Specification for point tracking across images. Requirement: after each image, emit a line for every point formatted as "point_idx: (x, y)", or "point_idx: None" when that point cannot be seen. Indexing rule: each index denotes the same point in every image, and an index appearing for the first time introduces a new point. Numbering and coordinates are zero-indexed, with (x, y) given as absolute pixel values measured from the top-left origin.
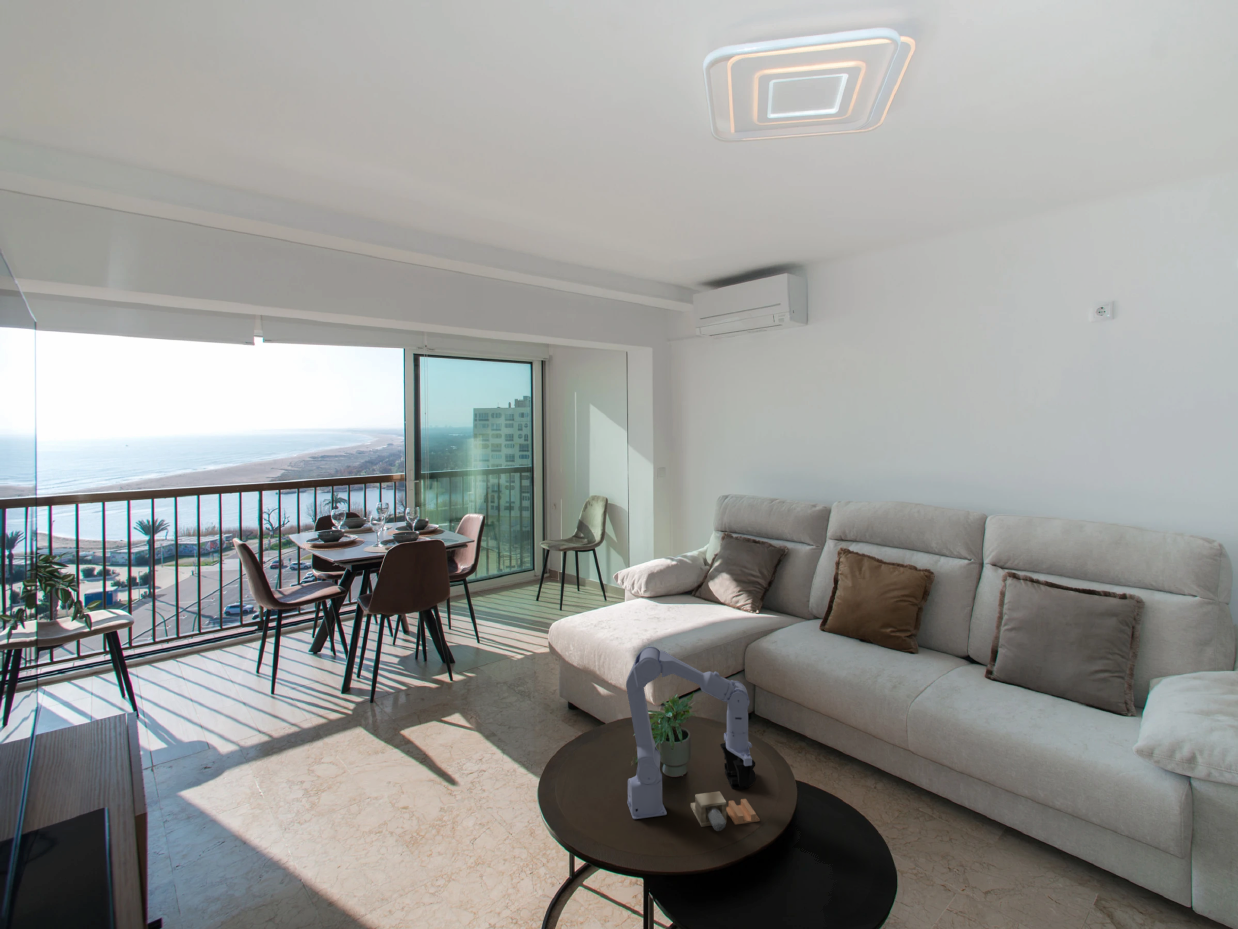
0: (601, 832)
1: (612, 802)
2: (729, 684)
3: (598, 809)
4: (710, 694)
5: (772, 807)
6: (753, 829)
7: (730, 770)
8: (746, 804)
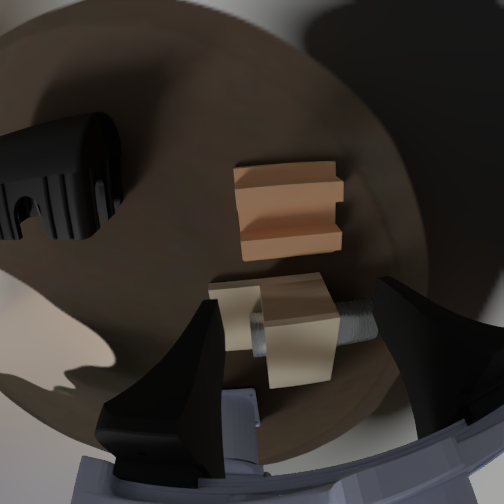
0: (282, 444)
1: None
2: None
3: None
4: None
5: (255, 77)
6: (367, 198)
7: (223, 331)
8: (276, 197)
